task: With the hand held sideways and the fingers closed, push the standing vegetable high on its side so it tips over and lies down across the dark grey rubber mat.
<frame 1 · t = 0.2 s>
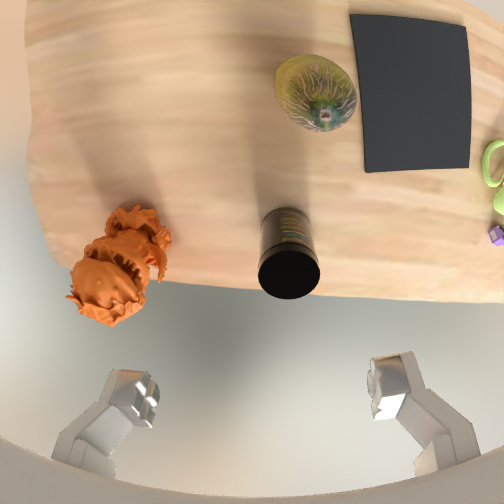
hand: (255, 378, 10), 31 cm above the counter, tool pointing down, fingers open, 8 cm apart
toy dinosaur: (143, 227, 44), on the counter
mat: (419, 94, 31), on the counter
vegetable: (299, 81, 32), on the counter
supplement container: (285, 227, 43), on the counter
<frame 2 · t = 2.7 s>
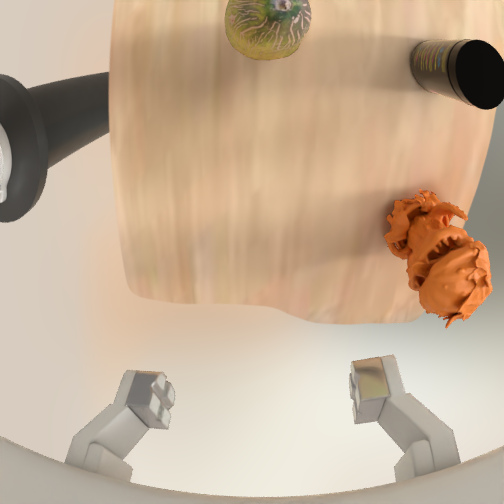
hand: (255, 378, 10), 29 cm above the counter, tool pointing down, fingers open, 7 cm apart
toy dinosaur: (411, 216, 38), on the counter
vegetable: (266, 36, 27), on the counter
supplement container: (432, 66, 27), on the counter
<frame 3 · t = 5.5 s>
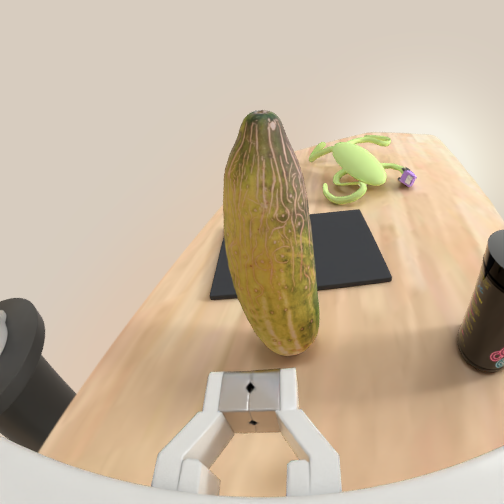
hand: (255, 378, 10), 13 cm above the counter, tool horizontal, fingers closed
figurine: (359, 174, 58), on the counter
mat: (297, 249, 40), on the counter
vegetable: (284, 346, 28), on the counter
supplement container: (484, 347, 22), on the counter
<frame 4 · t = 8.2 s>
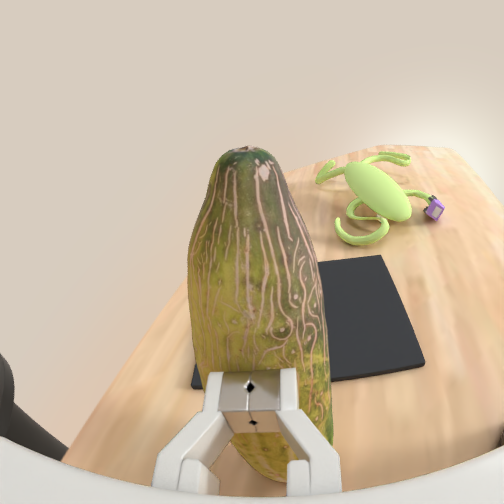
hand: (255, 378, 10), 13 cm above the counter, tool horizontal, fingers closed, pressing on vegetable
figurine: (375, 201, 48), on the counter
mat: (304, 316, 30), on the counter
vegetable: (285, 464, 18), on the counter, touching gripper
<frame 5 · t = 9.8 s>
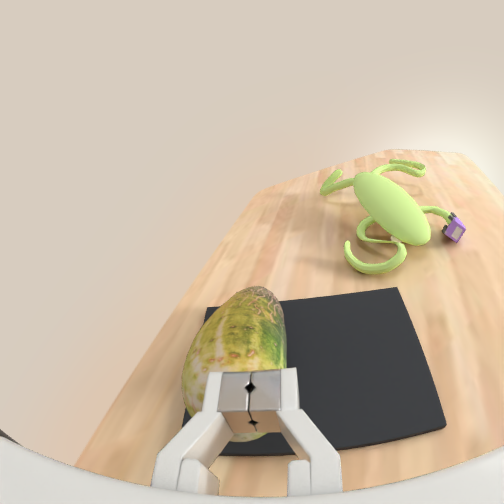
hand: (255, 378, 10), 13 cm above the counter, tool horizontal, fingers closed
figurine: (387, 216, 43), on the counter
mat: (309, 366, 25), on the counter
vegetable: (215, 438, 11), point 10 cm above the counter, touching gripper
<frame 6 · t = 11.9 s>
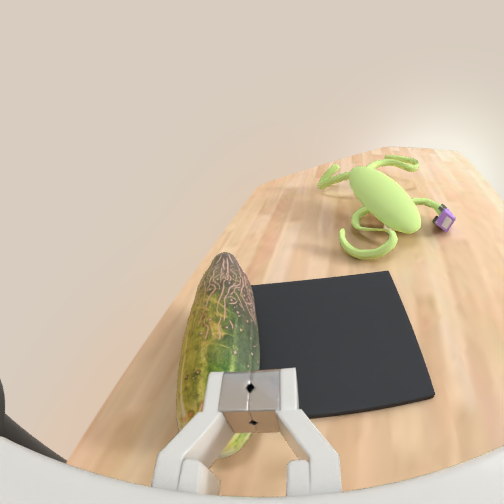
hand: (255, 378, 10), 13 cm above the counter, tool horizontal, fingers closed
figurine: (381, 208, 46), on the counter
mat: (305, 340, 28), on the counter
vegetable: (213, 463, 16), point 3 cm above the counter, touching mat
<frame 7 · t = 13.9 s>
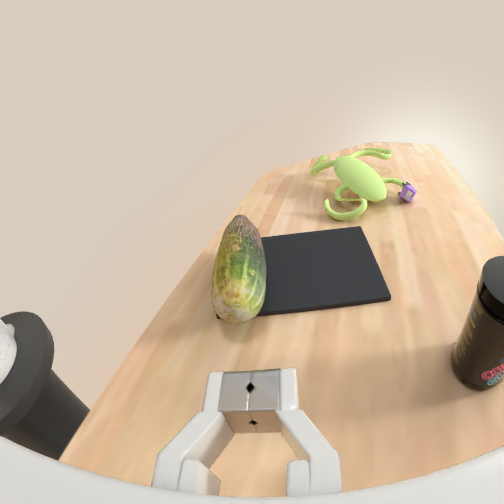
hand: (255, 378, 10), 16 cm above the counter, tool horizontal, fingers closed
figurine: (360, 188, 59), on the counter
mat: (300, 268, 41), on the counter
vegetable: (236, 324, 30), point 4 cm above the counter, touching mat
supplement container: (478, 364, 23), on the counter
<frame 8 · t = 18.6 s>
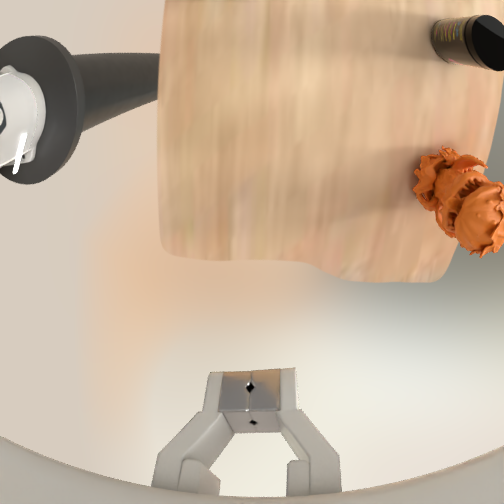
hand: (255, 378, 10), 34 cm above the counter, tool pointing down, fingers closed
toy dinosaur: (434, 173, 39), on the counter
supplement container: (448, 41, 28), on the counter
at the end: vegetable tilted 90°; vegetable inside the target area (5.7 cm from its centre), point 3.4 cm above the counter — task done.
